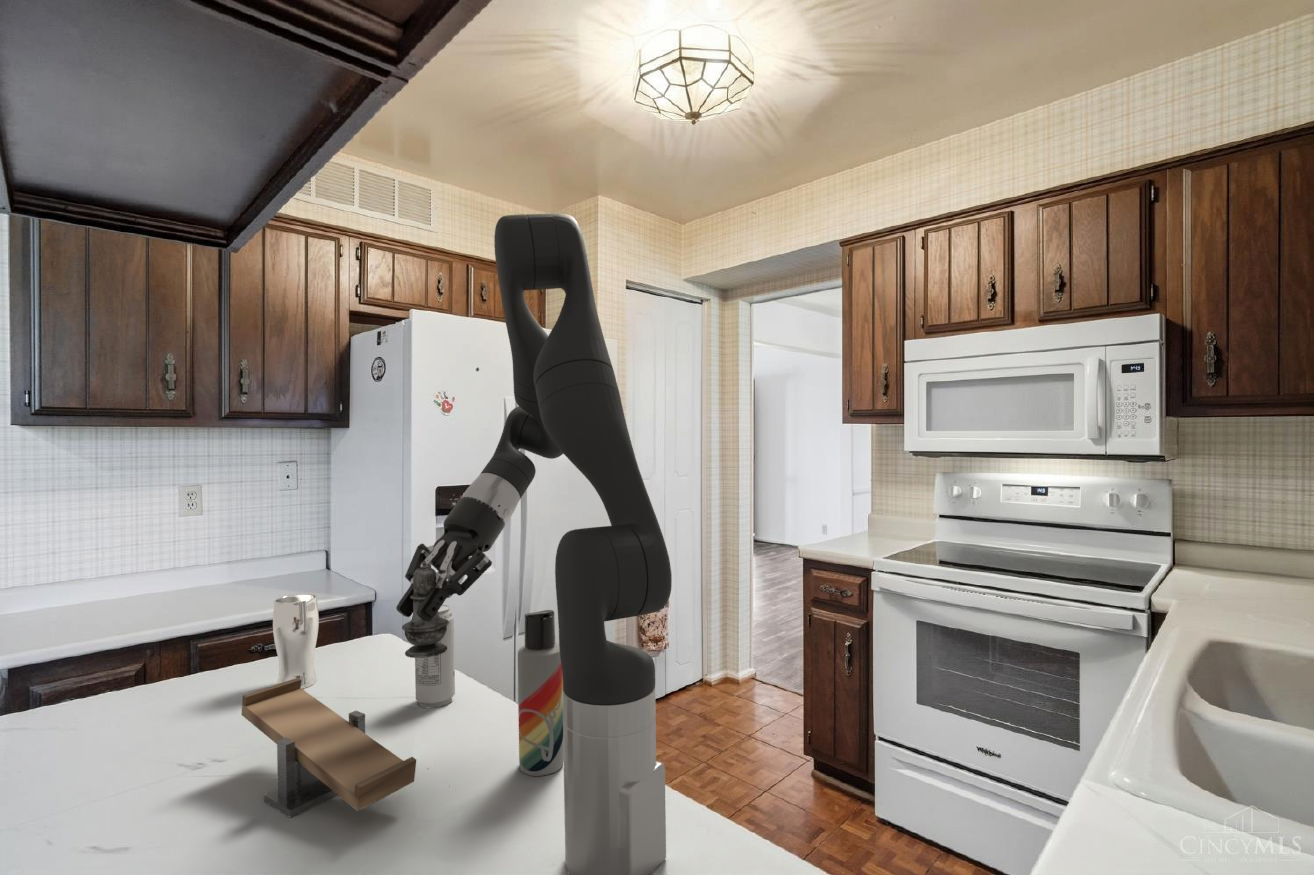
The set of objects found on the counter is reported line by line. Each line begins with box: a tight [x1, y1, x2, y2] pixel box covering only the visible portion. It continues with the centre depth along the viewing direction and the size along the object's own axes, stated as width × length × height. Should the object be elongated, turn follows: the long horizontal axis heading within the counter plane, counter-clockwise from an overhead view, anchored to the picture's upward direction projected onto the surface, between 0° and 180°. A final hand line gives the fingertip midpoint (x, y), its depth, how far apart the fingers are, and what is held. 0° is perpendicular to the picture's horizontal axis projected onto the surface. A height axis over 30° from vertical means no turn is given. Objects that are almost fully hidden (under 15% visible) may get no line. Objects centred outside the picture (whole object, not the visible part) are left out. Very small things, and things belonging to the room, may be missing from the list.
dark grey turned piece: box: [401, 560, 449, 659], centre depth 85 cm, size 6×6×12 cm
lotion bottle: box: [517, 609, 564, 777], centre depth 83 cm, size 6×6×20 cm
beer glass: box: [272, 593, 320, 690], centre depth 113 cm, size 7×7×15 cm
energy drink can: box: [414, 604, 456, 708], centre depth 104 cm, size 6×6×15 cm
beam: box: [241, 678, 417, 812], centre depth 79 cm, size 26×7×3 cm, turn 57°
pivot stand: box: [263, 710, 366, 818], centre depth 79 cm, size 6×11×7 cm, turn 147°
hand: (412, 615), depth 84 cm, fingers closed on dark grey turned piece, 3 cm apart
